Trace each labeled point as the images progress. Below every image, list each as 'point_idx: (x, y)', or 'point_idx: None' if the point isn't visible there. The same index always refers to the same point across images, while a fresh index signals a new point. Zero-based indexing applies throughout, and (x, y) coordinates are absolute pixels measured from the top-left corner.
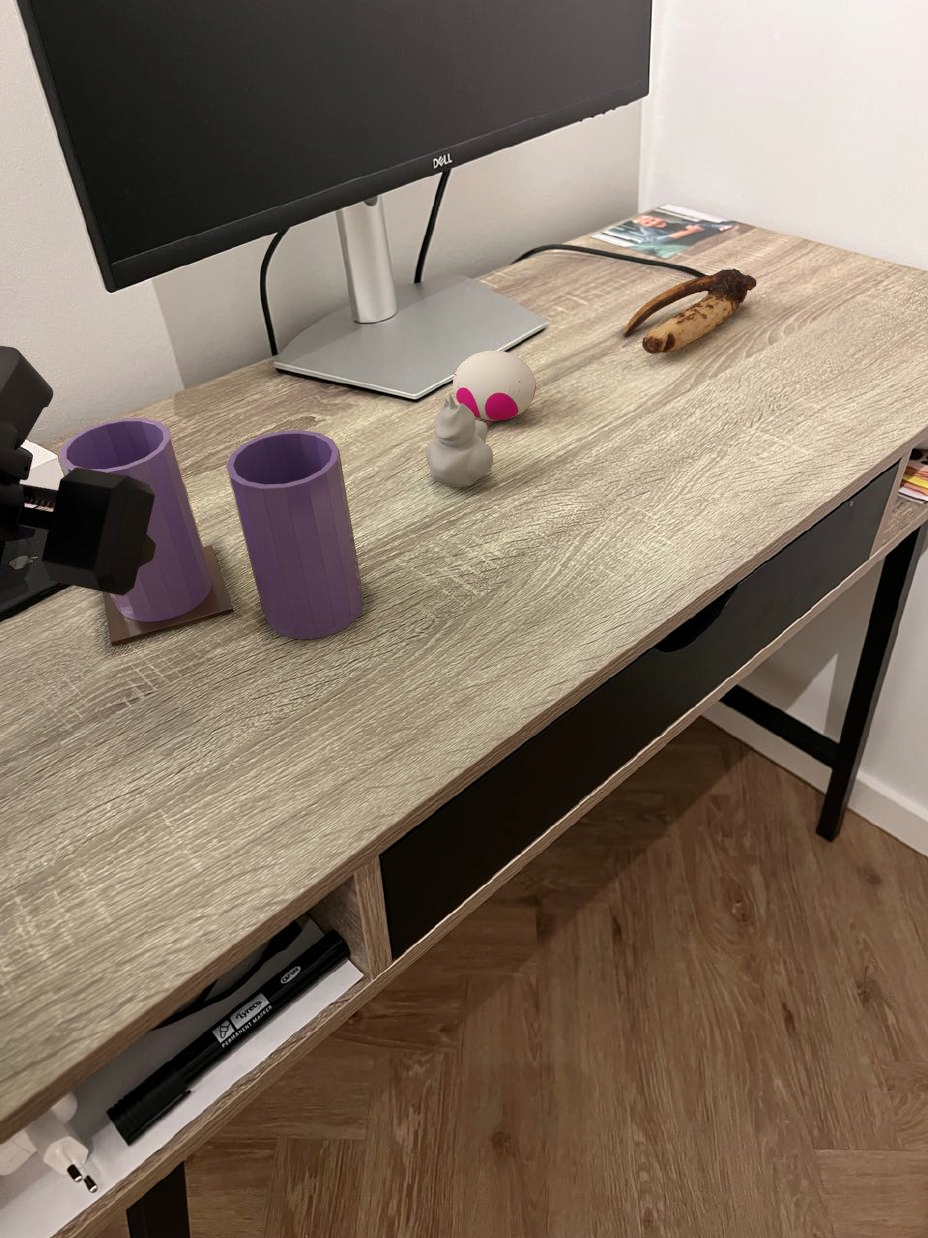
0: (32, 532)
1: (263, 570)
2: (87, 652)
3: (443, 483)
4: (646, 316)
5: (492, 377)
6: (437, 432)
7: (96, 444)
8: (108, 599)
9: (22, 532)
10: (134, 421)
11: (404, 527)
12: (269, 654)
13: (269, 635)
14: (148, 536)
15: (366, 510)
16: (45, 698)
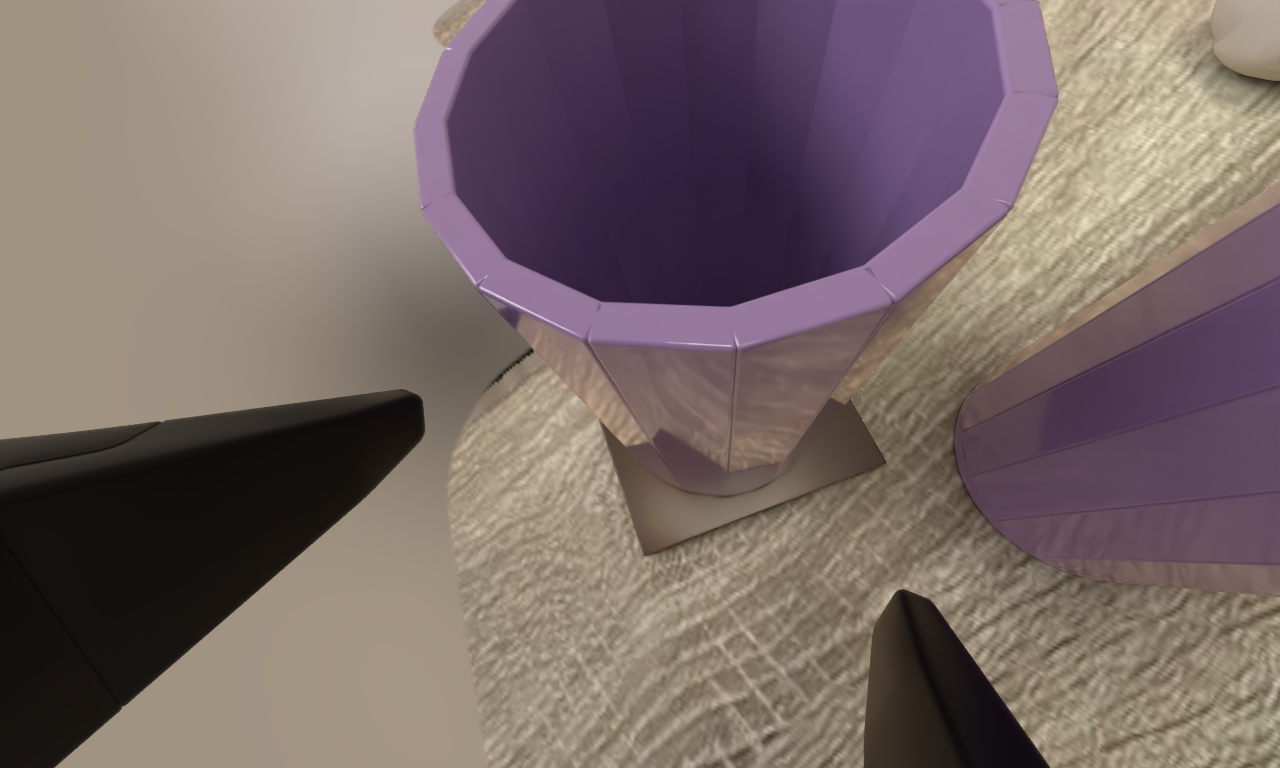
0: (415, 431)
1: (1214, 559)
2: (599, 567)
3: (1269, 74)
4: None
5: None
6: None
7: (560, 63)
8: None
9: (380, 459)
10: None
11: (1189, 201)
12: (1027, 625)
13: (999, 552)
14: (1007, 712)
15: (1067, 154)
16: (545, 714)
